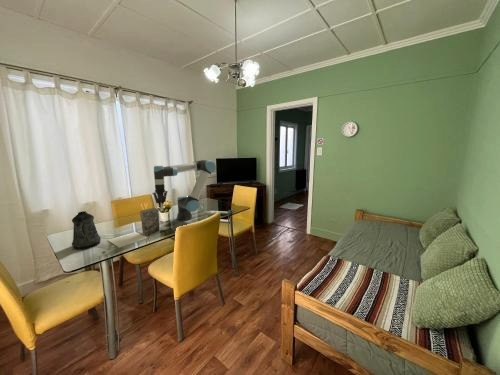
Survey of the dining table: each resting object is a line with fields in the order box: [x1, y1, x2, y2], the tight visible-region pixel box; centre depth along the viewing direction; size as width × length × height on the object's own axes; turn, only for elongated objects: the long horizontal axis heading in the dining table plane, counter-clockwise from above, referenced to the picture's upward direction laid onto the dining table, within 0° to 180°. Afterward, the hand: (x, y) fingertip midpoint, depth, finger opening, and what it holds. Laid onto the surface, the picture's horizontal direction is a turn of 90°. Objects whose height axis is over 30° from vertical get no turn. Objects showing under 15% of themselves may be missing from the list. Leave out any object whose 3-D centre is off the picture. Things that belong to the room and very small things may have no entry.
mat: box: [107, 231, 150, 249], centre depth 162 cm, size 22×20×1 cm
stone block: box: [139, 207, 160, 236], centre depth 175 cm, size 13×7×20 cm, turn 147°
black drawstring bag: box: [71, 210, 102, 251], centre depth 149 cm, size 16×19×25 cm
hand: (161, 210), depth 182 cm, fingers closed
